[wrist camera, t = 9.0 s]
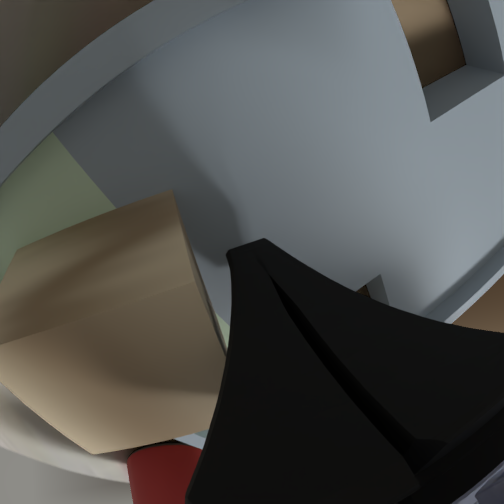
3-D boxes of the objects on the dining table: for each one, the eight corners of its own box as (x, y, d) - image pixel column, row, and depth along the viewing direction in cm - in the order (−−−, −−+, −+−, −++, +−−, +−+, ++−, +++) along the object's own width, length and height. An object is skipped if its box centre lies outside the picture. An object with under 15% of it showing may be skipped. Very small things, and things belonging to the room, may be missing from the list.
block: (171, 189, 8) (195, 281, 5) (217, 318, 11) (251, 415, 8) (17, 249, 8) (-28, 353, 4) (91, 357, 10) (92, 454, 7)
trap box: (528, 185, 18) (560, 205, 15) (219, 414, 20) (233, 459, 17) (485, -63, 7) (533, -62, 4) (-44, 210, 8) (-87, 261, 5)
